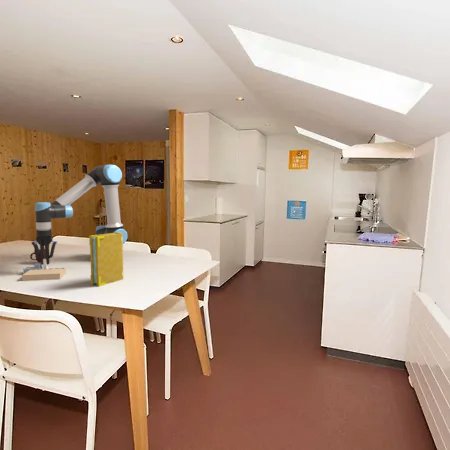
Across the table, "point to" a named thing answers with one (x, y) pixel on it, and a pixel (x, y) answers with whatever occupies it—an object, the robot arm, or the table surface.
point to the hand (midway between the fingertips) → (45, 269)
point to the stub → (36, 266)
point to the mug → (36, 255)
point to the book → (106, 258)
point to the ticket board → (44, 274)
